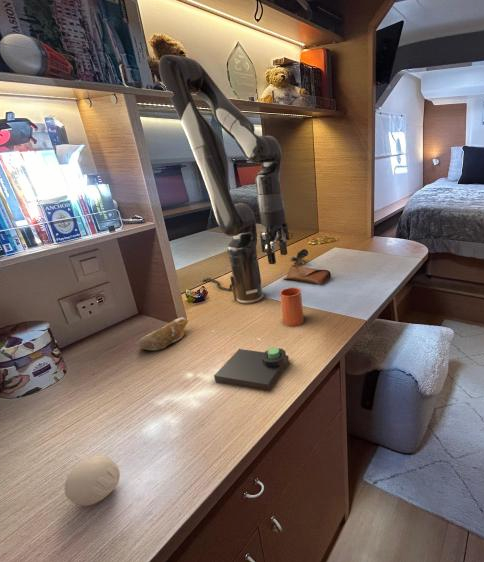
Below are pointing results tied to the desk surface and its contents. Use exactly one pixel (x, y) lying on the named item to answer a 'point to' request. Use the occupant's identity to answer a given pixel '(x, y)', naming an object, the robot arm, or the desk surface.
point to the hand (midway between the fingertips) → (278, 259)
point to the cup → (292, 306)
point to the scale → (252, 369)
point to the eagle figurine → (299, 257)
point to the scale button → (273, 353)
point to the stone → (163, 335)
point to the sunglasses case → (308, 275)
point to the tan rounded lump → (91, 480)
